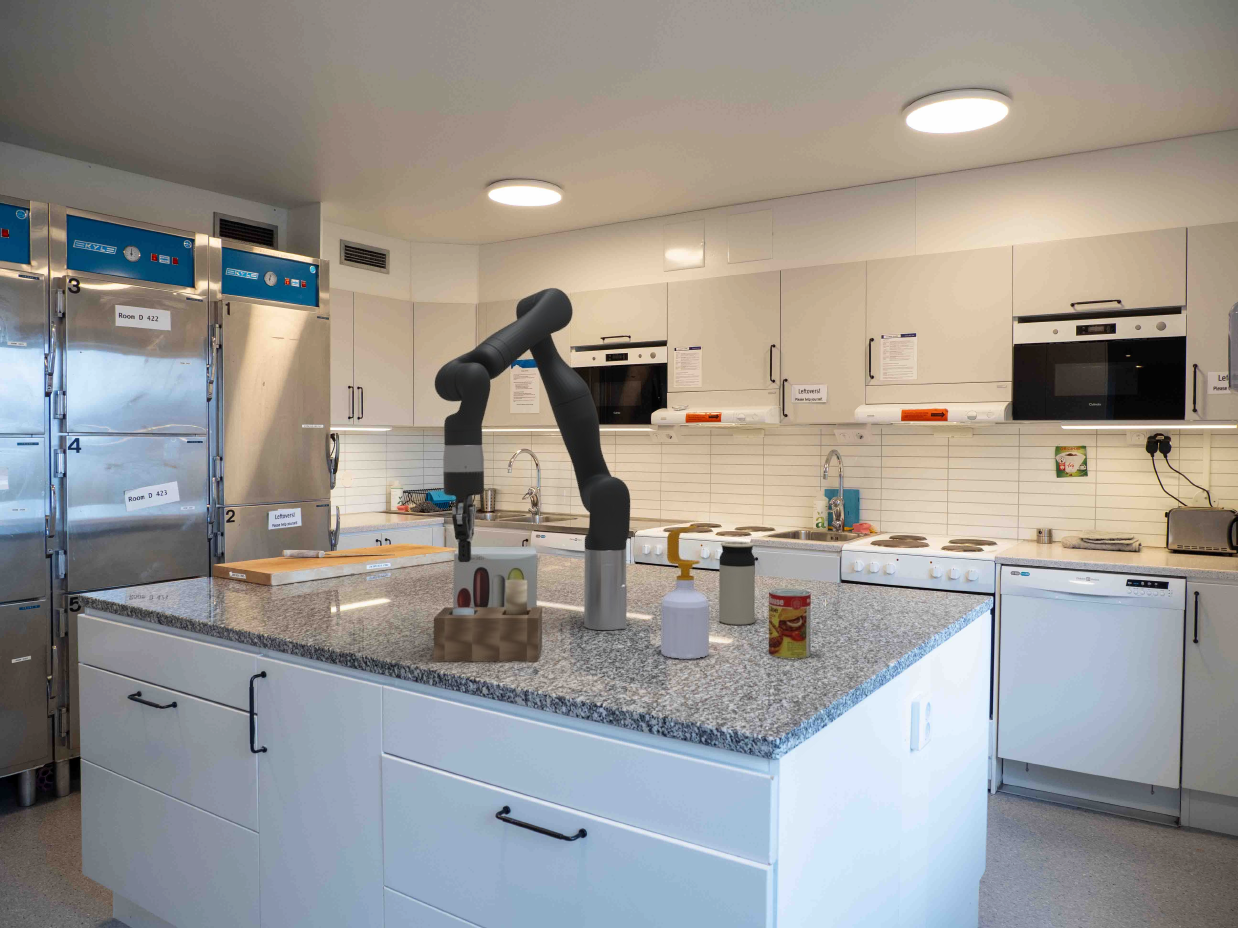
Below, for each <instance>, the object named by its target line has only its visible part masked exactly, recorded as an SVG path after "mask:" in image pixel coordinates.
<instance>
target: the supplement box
mask: <svg viewBox="0 0 1238 928" xmlns="http://www.w3.org/2000/svg"><path fill="white" fill-rule="evenodd" d="M537 554H538V553H537V547H536V546H535V545H534V546H531V545H530V546H527V545H525V546H523V545H521V546H519V545H518V546H471V560H470V561H469V562H459V560H458V547H457V548H456V549H455V551H454V555H453V590H452V591H453V592H452V593H453V595H452V598H453V600H452V602H453V603H452V604H453V605H452V607H506V580H512V579H523V580H527V607H538V606H537V603H538V602H537V600H538V555H537Z"/></svg>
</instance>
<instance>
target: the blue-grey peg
mask: <svg viewBox="0 0 1238 928" xmlns="http://www.w3.org/2000/svg"><path fill="white" fill-rule="evenodd" d="M453 615H474V609H473V608H456V609H453Z"/></svg>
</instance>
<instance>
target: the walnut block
mask: <svg viewBox="0 0 1238 928" xmlns="http://www.w3.org/2000/svg"><path fill="white" fill-rule="evenodd" d="M456 608H473V609H474V615H453V609H456ZM542 649H543V607H541V606H537V607H527V615H506V607H453V606H449V607H448V606H445V607H443V608H442V609H441V610H440V611H439V612H438V613H437V614H436V615H435V616H434V617H433V663H444V662H443V661H532V662H533V663H534V661H538V662H539V660H540V656H541V653H542ZM438 661H439V662H438ZM440 661H442V662H440Z"/></svg>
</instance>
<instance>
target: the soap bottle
mask: <svg viewBox="0 0 1238 928" xmlns="http://www.w3.org/2000/svg"><path fill="white" fill-rule="evenodd" d="M693 529H697V525H691V526H689V525H688V526H686V527H682V528H679V529H676V530H671V531H670V532H669V533H668V535H667V537H666V540H667V541H666V542H667V543H666V544H667V545H666V546H667V547H666V548H667V550H666V551H667V553H666V556H667V557H666V558H667V562H669V563H670V564H671V565H677V567H678V569H680V575H676V587H675V588H674V589H673V590H671V591H670V592H668V593H667V594H666V595H665V596H663V598H662V601H661V602H660V603H661V606H660V607H661V611H660V612H661V613H660V614H661V616H660V617H661V618H660V619H661V621H660V627H661V628H660V634H661V636H660V641H661V642H660V644H661V645H660V650H661V655H663V656H665V657H666V656H667V657H666V658H669V657H672V658H671V659H673V658H679V659H678V660H683V659H691V658H700V657H703V658H705V656H706V657H707V656H708V655H710V654H709V653H710V650H709V649H710V604H709V601H708V599H707V597H706V596H705V595H704V594H703V593H701V592H700V591H698V590H696V588H695V577H694V576H693V575H691V574H690V571H691V570H690V569H693V567H694V565H698V564H700V560H692V559H691V560H690V559H682V558H681V557H680V535H681V534H682V533H683V532H686V531H689V530H693ZM700 659H701V658H700ZM691 660H692V659H691Z"/></svg>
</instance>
